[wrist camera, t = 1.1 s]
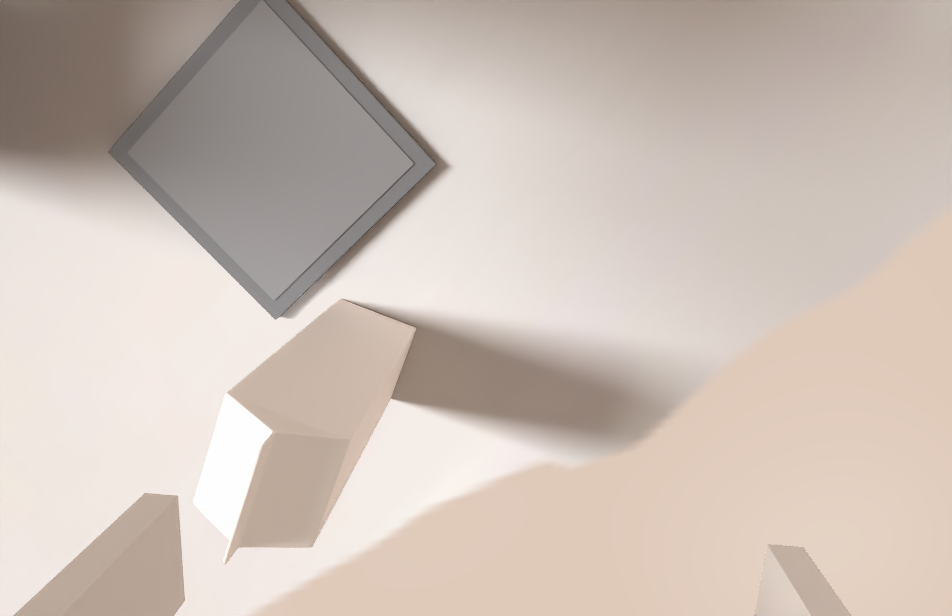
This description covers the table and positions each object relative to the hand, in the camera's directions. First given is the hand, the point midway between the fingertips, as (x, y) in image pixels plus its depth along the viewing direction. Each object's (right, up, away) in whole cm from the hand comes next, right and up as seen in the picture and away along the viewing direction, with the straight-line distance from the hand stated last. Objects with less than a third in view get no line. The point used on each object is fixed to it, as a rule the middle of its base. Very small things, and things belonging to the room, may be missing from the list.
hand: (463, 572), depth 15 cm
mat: (-14, +16, +31) cm, 37 cm away
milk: (-8, +3, +34) cm, 35 cm away
